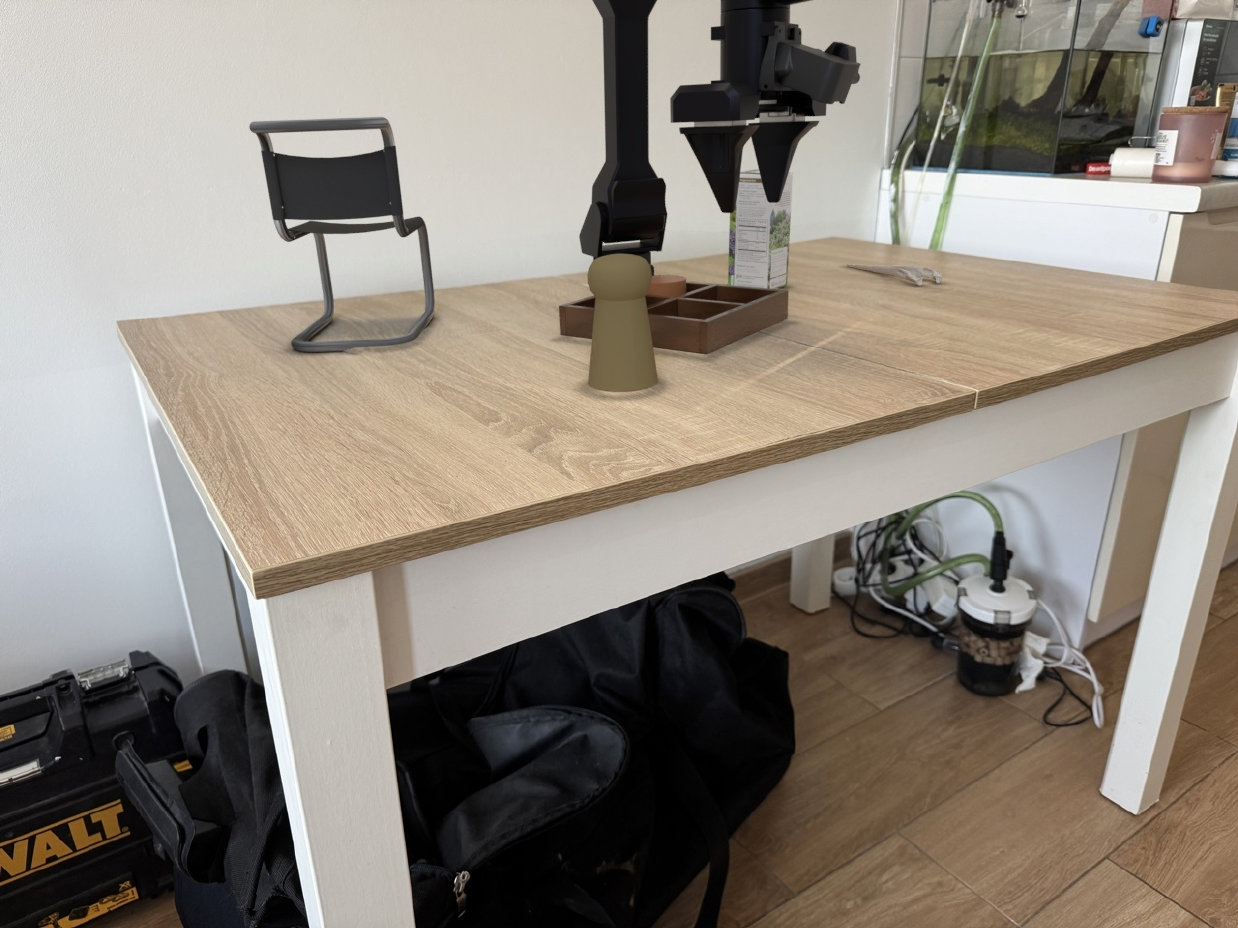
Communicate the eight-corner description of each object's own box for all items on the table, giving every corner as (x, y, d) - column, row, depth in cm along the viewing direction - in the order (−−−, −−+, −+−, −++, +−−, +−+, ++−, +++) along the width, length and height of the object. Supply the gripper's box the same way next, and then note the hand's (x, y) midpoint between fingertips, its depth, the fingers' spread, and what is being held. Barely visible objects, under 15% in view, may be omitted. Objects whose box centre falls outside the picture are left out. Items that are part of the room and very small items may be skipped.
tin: (632, 317, 101) (631, 280, 99) (657, 308, 105) (656, 273, 103) (671, 321, 98) (670, 284, 97) (694, 312, 102) (694, 276, 100)
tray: (560, 339, 94) (558, 305, 93) (651, 308, 107) (651, 278, 106) (707, 359, 85) (707, 322, 83) (787, 322, 98) (788, 290, 97)
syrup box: (748, 283, 120) (750, 168, 115) (789, 286, 117) (793, 168, 112) (727, 290, 116) (728, 171, 111) (769, 294, 113) (772, 171, 108)
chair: (282, 355, 92) (242, 121, 84) (327, 318, 108) (297, 120, 100) (412, 349, 92) (384, 116, 84) (437, 314, 108) (416, 116, 100)
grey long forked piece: (944, 282, 116) (945, 266, 115) (914, 287, 114) (915, 270, 114) (860, 273, 132) (860, 259, 131) (833, 276, 130) (833, 262, 129)
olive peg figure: (585, 379, 80) (579, 251, 76) (654, 375, 80) (651, 248, 76) (589, 399, 74) (583, 262, 70) (663, 395, 74) (661, 259, 70)
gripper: (801, -7, 64) (794, 222, 69) (887, 11, 78) (875, 199, 84) (665, 8, 70) (668, 218, 75) (768, 22, 84) (764, 197, 90)
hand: (751, 207), depth 81 cm, fingers open, 9 cm apart
